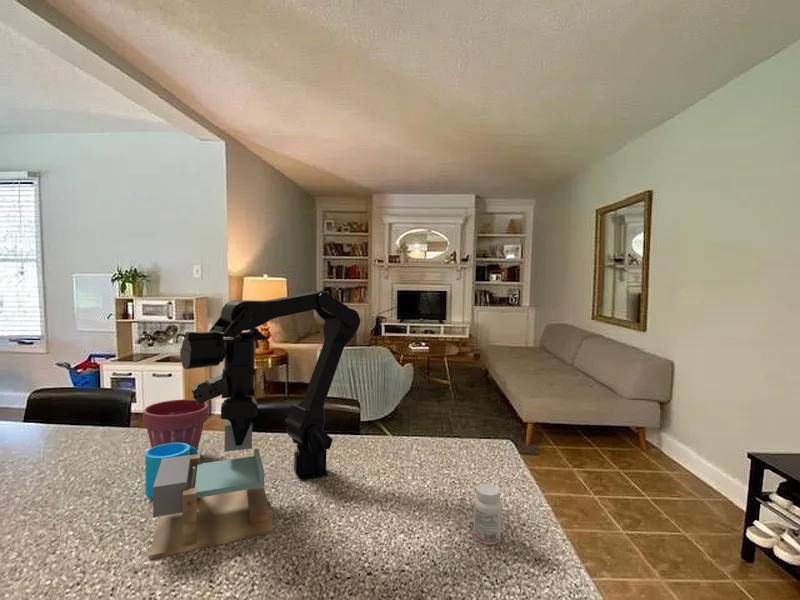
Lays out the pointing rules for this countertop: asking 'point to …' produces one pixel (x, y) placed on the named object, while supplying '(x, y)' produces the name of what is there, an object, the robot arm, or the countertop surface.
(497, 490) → the pill bottle
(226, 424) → the gray cube
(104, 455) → the countertop surface
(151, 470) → the mug
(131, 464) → the countertop surface
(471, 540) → the countertop surface
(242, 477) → the trapdoor
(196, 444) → the plant pot
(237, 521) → the frame
